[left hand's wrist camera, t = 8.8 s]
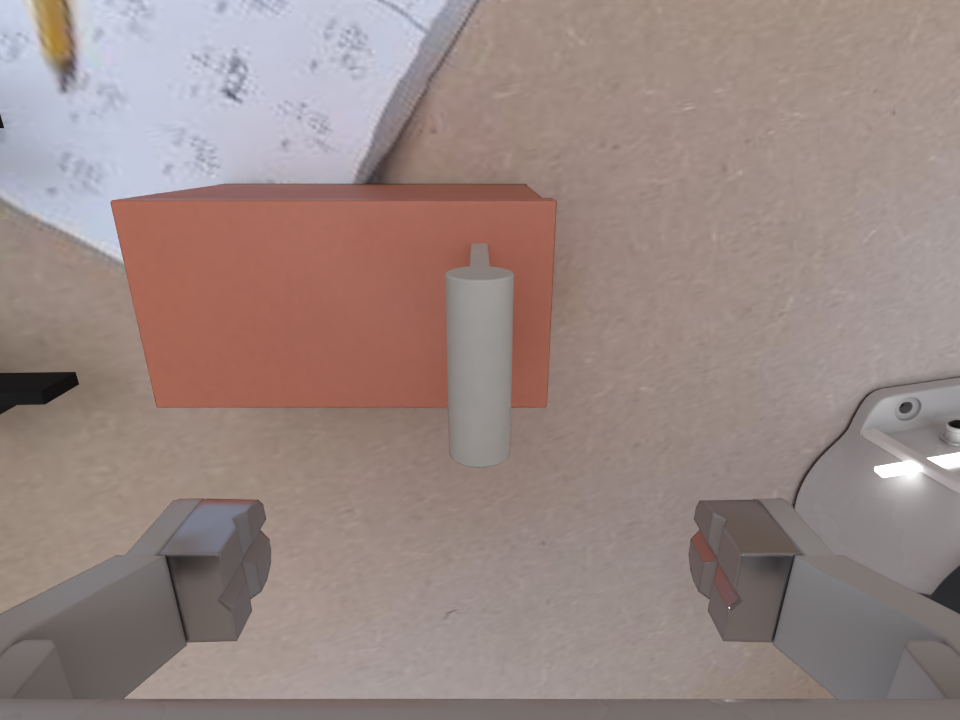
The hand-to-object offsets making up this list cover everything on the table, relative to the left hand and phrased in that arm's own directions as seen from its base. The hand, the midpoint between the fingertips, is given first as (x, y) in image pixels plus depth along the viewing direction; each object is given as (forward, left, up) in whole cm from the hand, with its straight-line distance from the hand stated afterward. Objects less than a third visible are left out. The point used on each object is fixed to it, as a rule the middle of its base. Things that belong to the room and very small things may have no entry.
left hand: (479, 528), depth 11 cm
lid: (+5, -2, -16) cm, 17 cm away
